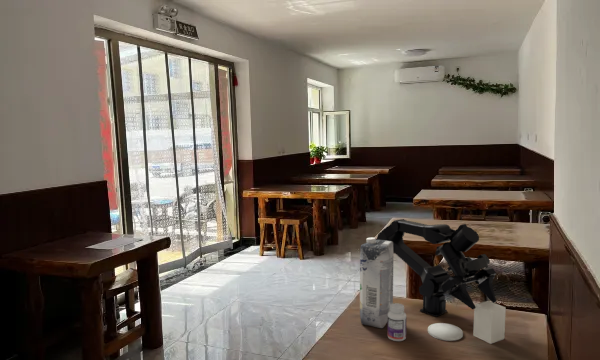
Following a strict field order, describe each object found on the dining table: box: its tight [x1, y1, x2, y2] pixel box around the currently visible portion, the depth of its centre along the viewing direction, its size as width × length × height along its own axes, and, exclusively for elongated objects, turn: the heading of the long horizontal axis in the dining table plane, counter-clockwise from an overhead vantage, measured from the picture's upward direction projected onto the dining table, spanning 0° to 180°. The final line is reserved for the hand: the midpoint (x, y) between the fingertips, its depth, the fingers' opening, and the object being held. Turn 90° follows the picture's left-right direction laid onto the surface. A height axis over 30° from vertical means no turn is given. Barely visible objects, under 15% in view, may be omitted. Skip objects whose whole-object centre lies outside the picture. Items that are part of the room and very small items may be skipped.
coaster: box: [427, 322, 464, 342], centre depth 136 cm, size 10×10×1 cm
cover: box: [472, 300, 507, 345], centre depth 133 cm, size 6×6×10 cm
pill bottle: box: [387, 302, 407, 342], centre depth 133 cm, size 5×5×10 cm
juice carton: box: [359, 236, 395, 329], centre depth 143 cm, size 9×10×27 cm
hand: (484, 305), depth 134 cm, fingers open, 9 cm apart
